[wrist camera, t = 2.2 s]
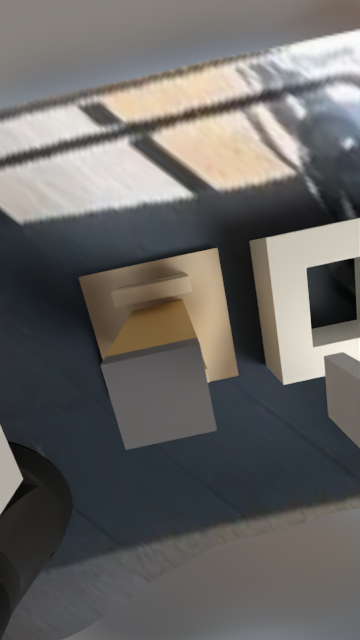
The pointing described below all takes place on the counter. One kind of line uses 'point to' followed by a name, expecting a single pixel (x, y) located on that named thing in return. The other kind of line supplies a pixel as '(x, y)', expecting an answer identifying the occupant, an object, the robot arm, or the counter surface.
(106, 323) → the beige plate with rail
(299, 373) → the port
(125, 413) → the plug
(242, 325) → the counter surface
